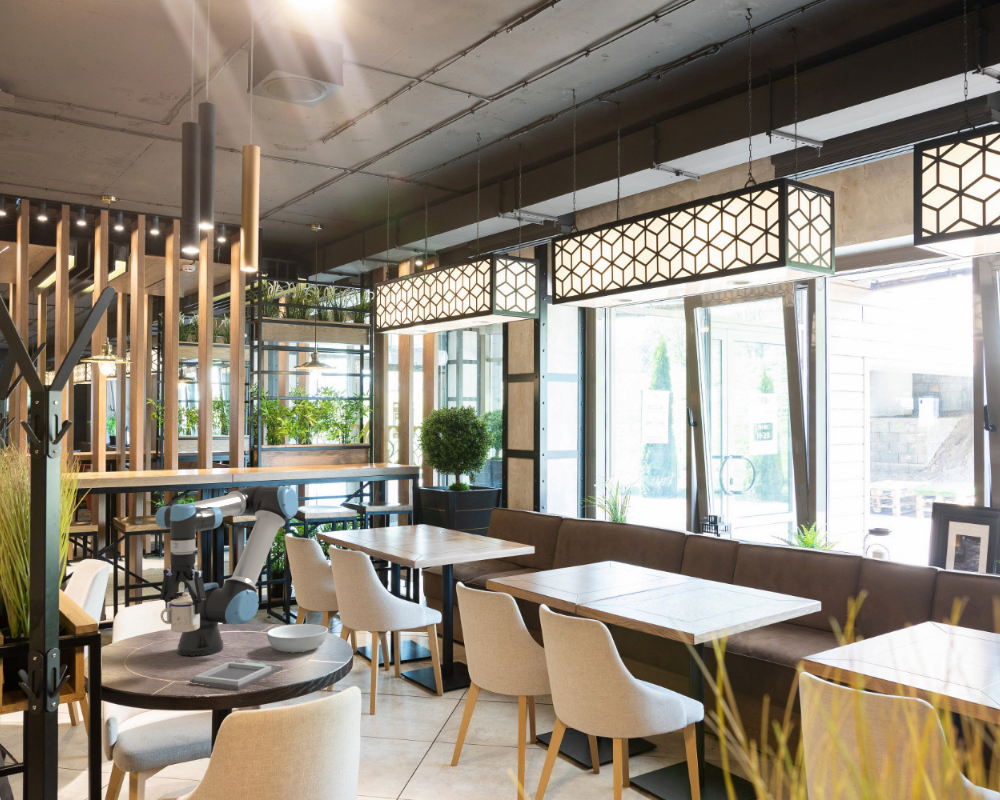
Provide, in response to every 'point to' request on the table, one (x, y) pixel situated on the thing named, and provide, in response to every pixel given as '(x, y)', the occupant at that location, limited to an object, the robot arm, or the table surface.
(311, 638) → the serving bowl
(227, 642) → the table surface
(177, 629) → the teacup with lid
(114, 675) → the table surface
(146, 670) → the table surface
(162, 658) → the table surface
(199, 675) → the base
